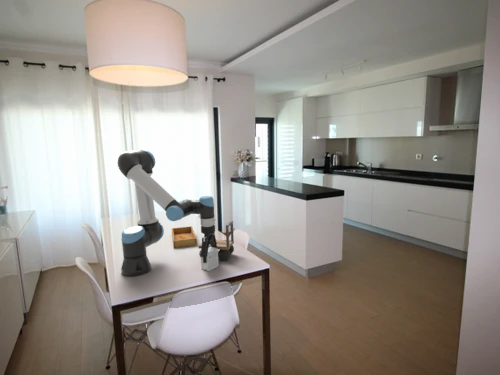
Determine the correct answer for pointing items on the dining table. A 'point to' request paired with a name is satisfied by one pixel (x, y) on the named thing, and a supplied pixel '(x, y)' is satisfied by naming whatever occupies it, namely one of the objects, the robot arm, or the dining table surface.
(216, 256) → the small box
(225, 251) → the trolley
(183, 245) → the tray
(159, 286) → the dining table surface
